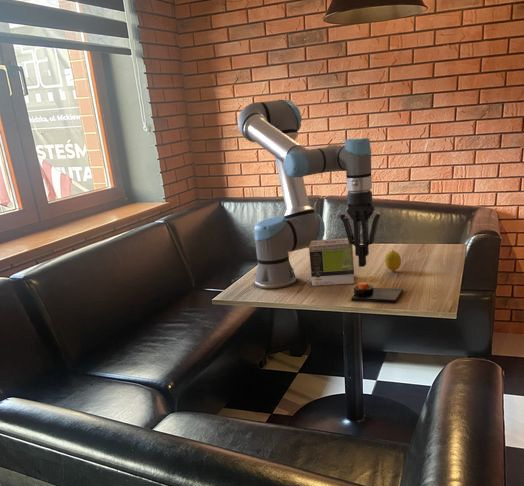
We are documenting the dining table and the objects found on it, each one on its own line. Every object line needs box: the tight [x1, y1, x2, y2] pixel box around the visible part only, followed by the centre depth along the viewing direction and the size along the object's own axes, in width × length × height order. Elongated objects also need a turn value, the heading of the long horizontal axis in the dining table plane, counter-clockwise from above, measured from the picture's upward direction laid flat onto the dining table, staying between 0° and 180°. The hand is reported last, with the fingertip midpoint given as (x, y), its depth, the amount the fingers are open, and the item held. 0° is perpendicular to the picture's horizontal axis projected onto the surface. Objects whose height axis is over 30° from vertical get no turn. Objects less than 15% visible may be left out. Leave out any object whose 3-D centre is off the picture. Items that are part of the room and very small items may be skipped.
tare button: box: [357, 281, 369, 289], centre depth 174 cm, size 3×3×2 cm
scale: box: [351, 284, 404, 304], centre depth 173 cm, size 14×11×3 cm
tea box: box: [308, 237, 355, 287], centre depth 191 cm, size 15×10×15 cm
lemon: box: [384, 249, 402, 272], centre depth 196 cm, size 6×6×8 cm
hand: (362, 265), depth 171 cm, fingers closed
